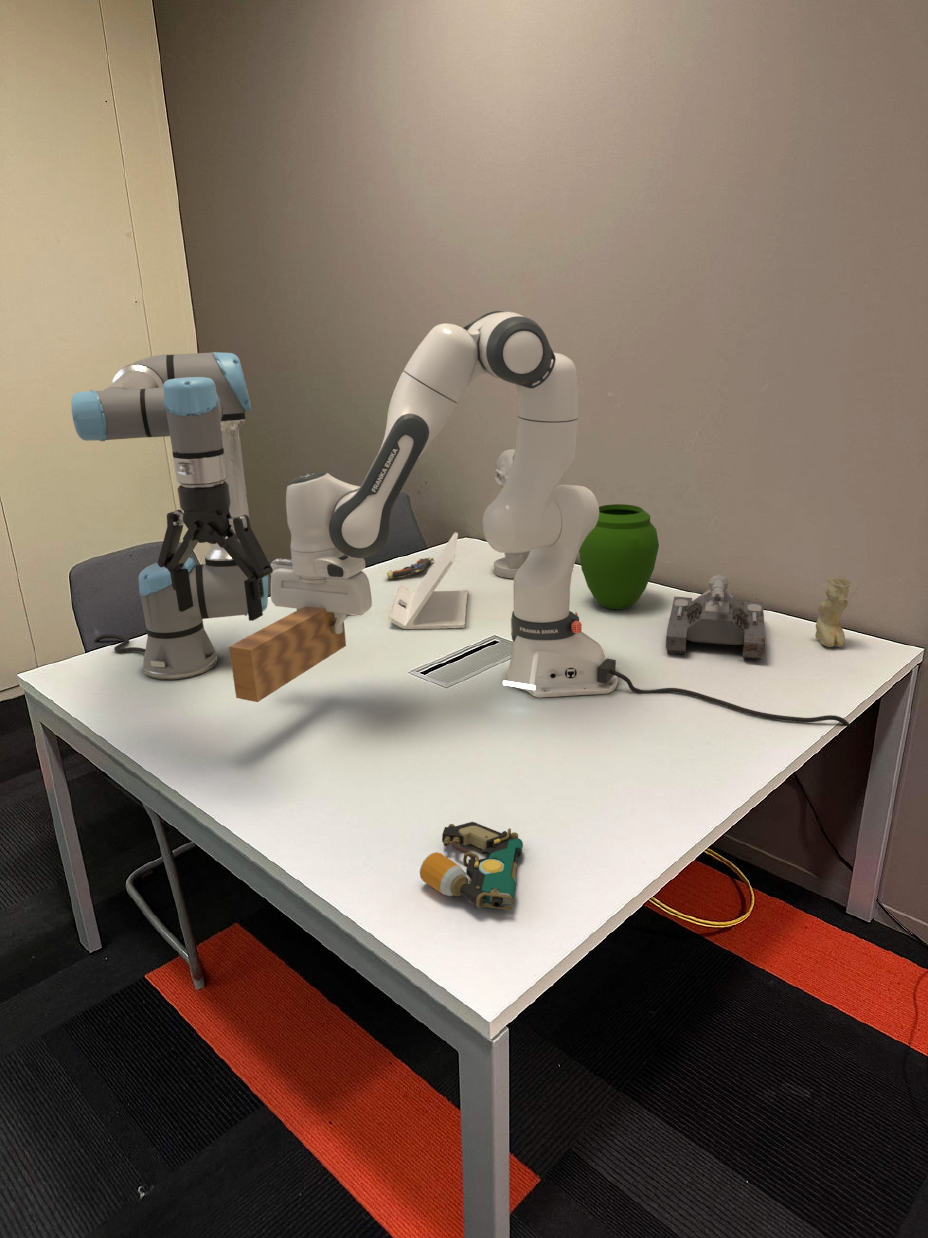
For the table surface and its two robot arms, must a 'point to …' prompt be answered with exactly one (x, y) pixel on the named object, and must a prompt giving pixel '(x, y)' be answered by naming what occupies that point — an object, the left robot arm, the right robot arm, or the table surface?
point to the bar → (283, 652)
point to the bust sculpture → (512, 560)
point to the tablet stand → (431, 599)
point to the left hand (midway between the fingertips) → (220, 613)
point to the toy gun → (410, 568)
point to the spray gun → (476, 866)
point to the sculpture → (832, 613)
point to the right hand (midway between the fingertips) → (323, 631)
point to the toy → (717, 621)
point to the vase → (619, 555)
